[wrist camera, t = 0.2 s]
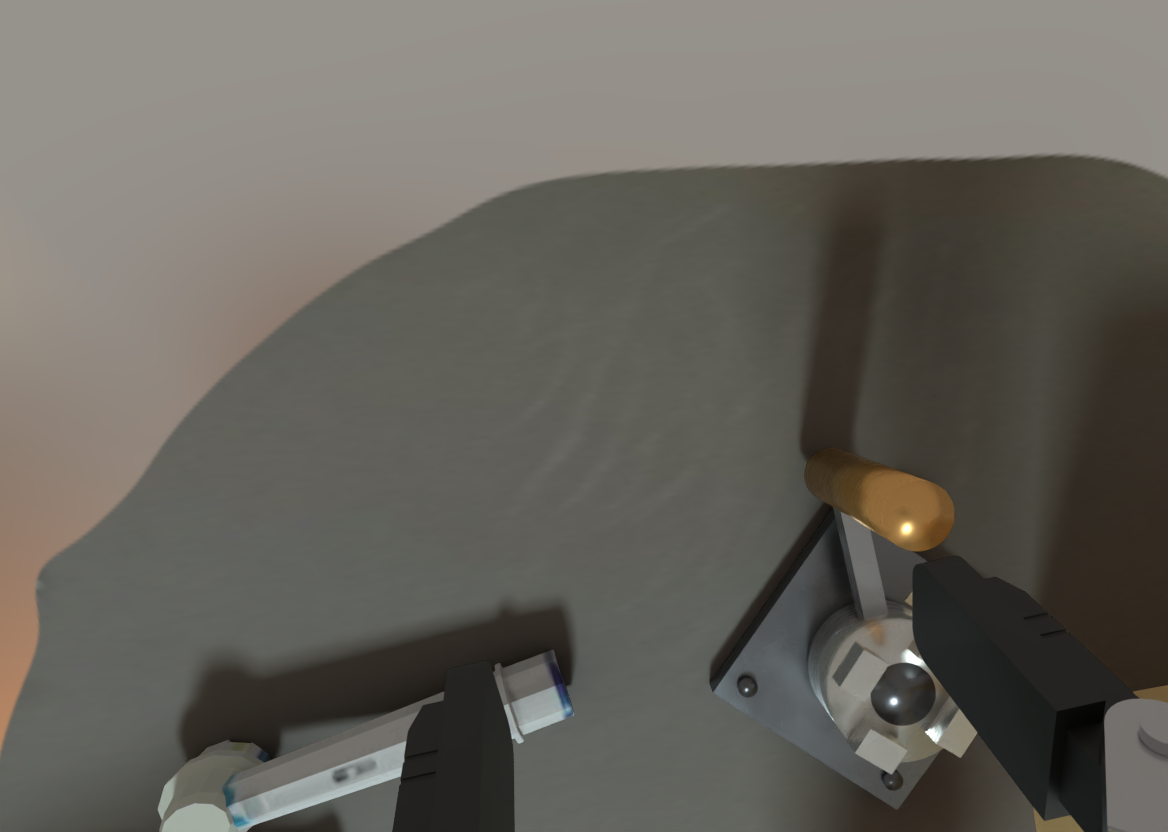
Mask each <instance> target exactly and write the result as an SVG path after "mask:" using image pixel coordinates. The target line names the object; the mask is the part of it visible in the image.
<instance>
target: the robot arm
mask: <svg viewBox="0 0 1168 832" xmlns="http://www.w3.org/2000/svg"><path fill="white" fill-rule="evenodd" d="M912 628H913V636H914V640H915V643H916V646H917V649H918V651H919V653H920V655H921V657H922V659H923V661H924V662H925V664H926V665H927V666H928V668H929V669H930V670H931V672H932V673H933V674H934V676H935V677H936V678H937V680H938V681H939V682H940V684H941V685H942V686H943V688H944V689H945V690H946V692H947V693H948V694H949V696H950V697H951V698H952V700H953V701H954V702H955V704H956V705H957V706H958V708H959V709H960V710H961V711H962V713H963V714H964V715H965V717H966V718H967V719H968V721H969V722H970V723H971V725H972V726H973V727H974V729H975V730H976V731H977V733H978V734H979V735H980V737H981V738H982V739H983V741H984V742H985V743H986V745H987V746H988V747H989V749H990V750H991V751H992V753H993V754H994V755H995V757H996V758H997V759H998V761H999V762H1000V763H1001V765H1002V766H1003V767H1004V769H1005V770H1006V771H1007V773H1008V774H1009V775H1010V776H1011V778H1012V779H1013V780H1014V782H1015V783H1016V784H1017V786H1018V787H1019V788H1020V790H1021V791H1022V792H1023V794H1024V795H1025V796H1026V798H1027V799H1028V800H1029V802H1030V803H1031V804H1032V806H1033V807H1034V808H1035V810H1036V811H1037V812H1038V814H1039V815H1040V816H1041V818H1042V819H1043V820H1044V821H1047V820H1052V819H1056V818H1060V817H1065V816H1069V815H1071V816H1072V818H1073V819H1074V820H1075V821H1076V823H1077V824H1078V825H1079V826H1080V828H1081V829H1082V830H1083V831H1084V832H1168V703H1165V702H1162V701H1157V700H1151V699H1140V698H1139V697H1138V696H1136V695H1135V694H1134V693H1133V692H1132V691H1131V690H1130V689H1129V688H1128V687H1127V686H1126V685H1125V684H1124V683H1122V682H1121V681H1120V680H1119V679H1118V678H1117V677H1116V676H1115V675H1114V674H1113V673H1112V672H1111V671H1110V670H1109V669H1107V668H1106V667H1105V666H1104V665H1103V664H1102V663H1101V662H1100V661H1099V660H1098V659H1097V658H1096V657H1095V656H1094V655H1092V654H1091V653H1090V652H1089V651H1088V650H1087V649H1086V648H1085V647H1084V646H1083V645H1082V644H1081V643H1080V642H1079V641H1077V640H1076V639H1075V638H1074V637H1073V636H1072V635H1071V634H1070V633H1069V634H1067V633H1066V631H1065V628H1064V627H1063V626H1061V625H1060V624H1059V623H1058V622H1057V621H1056V620H1055V619H1054V618H1053V617H1052V616H1051V617H1049V616H1048V614H1047V612H1046V611H1045V610H1044V609H1043V608H1042V607H1041V606H1040V605H1039V604H1038V603H1037V602H1036V601H1035V600H1034V599H1033V598H1031V597H1030V596H1029V595H1028V594H1027V593H1026V592H1025V591H1023V590H1021V589H1019V588H1017V587H1015V586H1013V585H1011V584H1009V583H1007V582H1005V581H1003V580H1001V579H999V578H997V577H992V578H988V579H983V578H982V577H981V576H980V575H979V574H978V573H977V572H976V571H975V570H974V569H973V568H972V567H971V566H970V565H969V564H968V563H967V562H966V561H965V560H964V559H962V558H961V557H959V556H952V557H947V558H943V559H938V560H934V561H929V562H925V563H920V564H917V565H915V566H914V568H913V574H912ZM392 832H515V824H514V755H513V744H512V737H511V731H510V726H509V722H508V718H507V715H506V712H505V709H504V706H503V702H502V699H501V696H500V693H499V690H498V687H497V684H496V680H495V677H494V674H493V671H492V668H491V665H490V663H489V662H488V661H482V662H478V663H473V664H469V665H464V666H460V667H455V668H451V669H448V670H447V673H446V680H445V690H444V699H443V701H439V702H435V703H430V704H425V705H423V706H422V708H421V709H420V711H419V713H418V714H417V716H416V718H415V720H414V721H413V723H412V725H411V726H410V728H409V730H408V734H407V740H406V747H405V753H404V762H403V766H402V773H401V785H400V786H399V792H398V799H397V805H396V812H395V818H394V824H393V831H392Z"/></svg>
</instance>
